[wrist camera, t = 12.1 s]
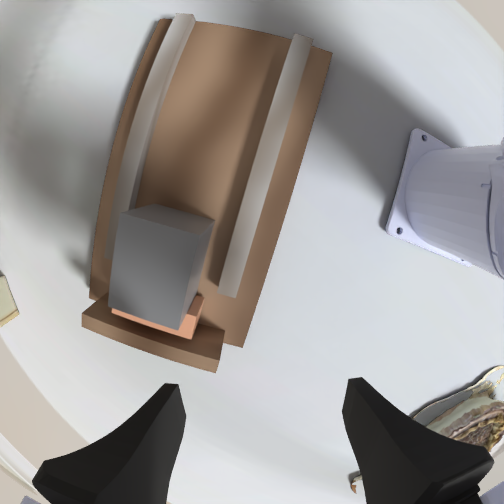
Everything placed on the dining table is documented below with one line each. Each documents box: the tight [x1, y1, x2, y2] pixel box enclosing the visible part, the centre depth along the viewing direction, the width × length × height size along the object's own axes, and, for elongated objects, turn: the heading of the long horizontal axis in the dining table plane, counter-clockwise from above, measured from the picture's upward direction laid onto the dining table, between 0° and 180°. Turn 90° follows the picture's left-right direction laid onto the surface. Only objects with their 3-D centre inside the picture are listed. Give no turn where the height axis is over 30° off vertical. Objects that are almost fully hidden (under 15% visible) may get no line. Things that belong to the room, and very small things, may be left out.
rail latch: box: [112, 295, 204, 339], centre depth 17 cm, size 5×2×3 cm, turn 74°
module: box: [108, 204, 215, 330], centre depth 15 cm, size 4×5×5 cm
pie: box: [351, 366, 504, 493], centre depth 24 cm, size 28×27×5 cm
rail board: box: [82, 13, 332, 373], centre depth 15 cm, size 12×21×5 cm, turn 164°
